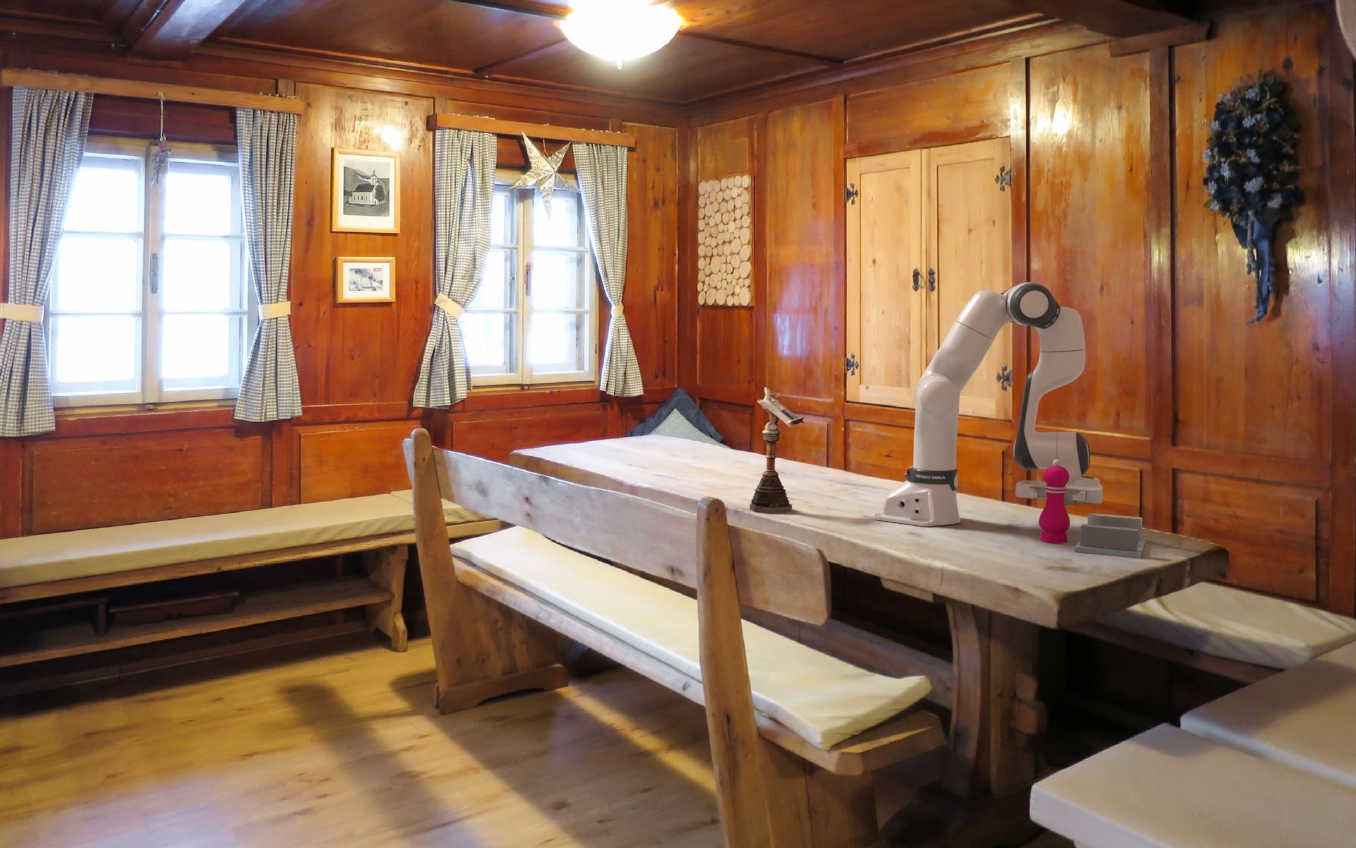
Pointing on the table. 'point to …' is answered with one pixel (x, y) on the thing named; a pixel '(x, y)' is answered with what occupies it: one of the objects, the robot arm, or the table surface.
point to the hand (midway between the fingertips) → (1054, 496)
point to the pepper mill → (1055, 505)
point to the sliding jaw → (1116, 521)
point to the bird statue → (773, 460)
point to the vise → (1110, 541)
